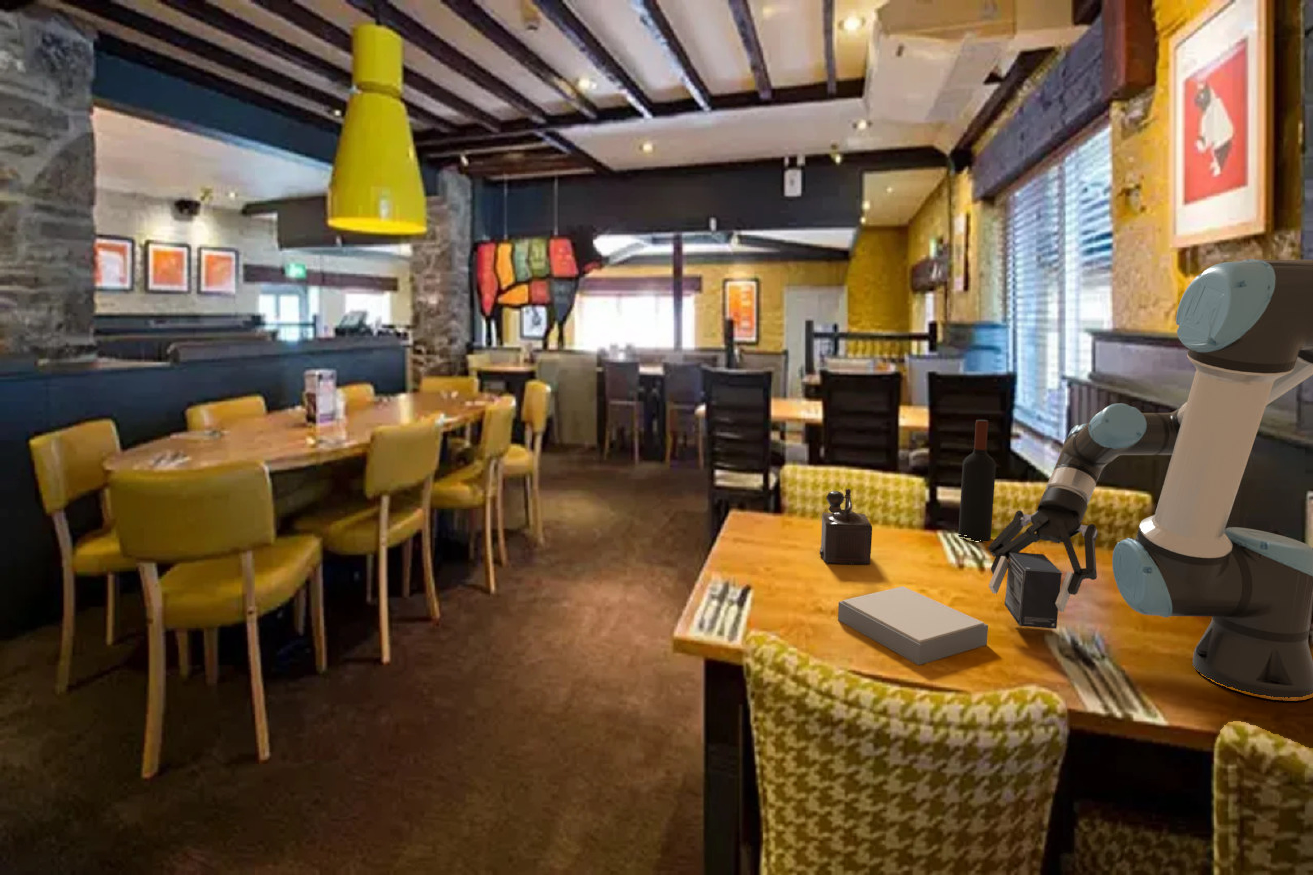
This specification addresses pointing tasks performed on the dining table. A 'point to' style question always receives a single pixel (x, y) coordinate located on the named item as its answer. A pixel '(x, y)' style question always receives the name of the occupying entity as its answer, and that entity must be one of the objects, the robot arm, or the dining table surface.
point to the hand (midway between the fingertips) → (1024, 598)
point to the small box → (1032, 590)
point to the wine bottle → (977, 489)
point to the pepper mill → (845, 533)
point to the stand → (912, 624)
